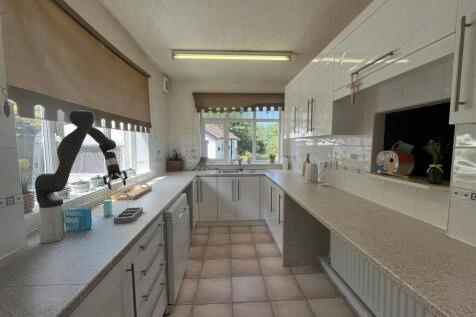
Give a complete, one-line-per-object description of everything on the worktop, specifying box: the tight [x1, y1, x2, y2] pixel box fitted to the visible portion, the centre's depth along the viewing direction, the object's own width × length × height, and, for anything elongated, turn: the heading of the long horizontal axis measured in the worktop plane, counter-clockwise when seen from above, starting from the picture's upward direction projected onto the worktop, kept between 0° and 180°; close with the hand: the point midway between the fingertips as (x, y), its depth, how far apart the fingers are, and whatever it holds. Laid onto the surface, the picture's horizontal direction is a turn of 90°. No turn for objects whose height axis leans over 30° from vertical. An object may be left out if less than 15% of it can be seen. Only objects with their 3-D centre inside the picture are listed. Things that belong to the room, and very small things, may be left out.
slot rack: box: [113, 206, 144, 224], centre depth 146 cm, size 22×11×4 cm, turn 8°
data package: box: [64, 206, 93, 232], centre depth 125 cm, size 12×4×12 cm, turn 89°
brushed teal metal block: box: [102, 199, 113, 217], centre depth 150 cm, size 4×4×10 cm
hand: (117, 187), depth 151 cm, fingers open, 8 cm apart
